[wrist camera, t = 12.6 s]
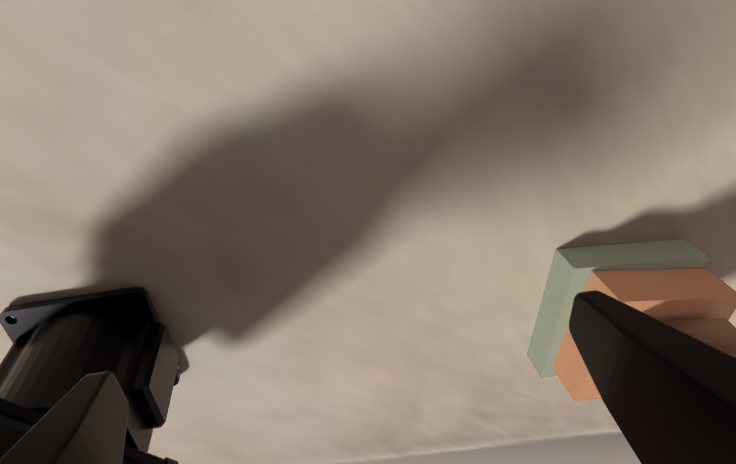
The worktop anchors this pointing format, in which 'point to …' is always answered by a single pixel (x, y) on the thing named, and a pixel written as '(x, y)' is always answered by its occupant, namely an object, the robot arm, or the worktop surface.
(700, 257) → the tower base
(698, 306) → the tower top
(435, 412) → the worktop surface
